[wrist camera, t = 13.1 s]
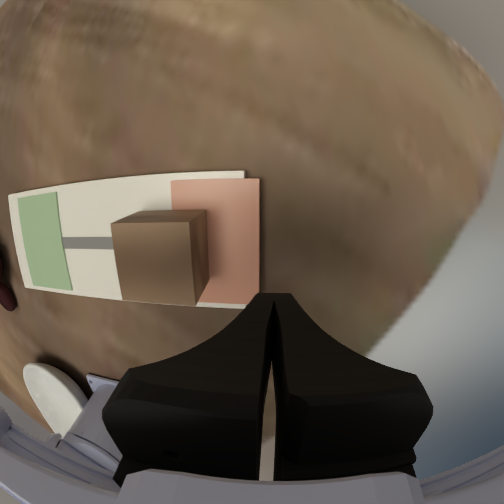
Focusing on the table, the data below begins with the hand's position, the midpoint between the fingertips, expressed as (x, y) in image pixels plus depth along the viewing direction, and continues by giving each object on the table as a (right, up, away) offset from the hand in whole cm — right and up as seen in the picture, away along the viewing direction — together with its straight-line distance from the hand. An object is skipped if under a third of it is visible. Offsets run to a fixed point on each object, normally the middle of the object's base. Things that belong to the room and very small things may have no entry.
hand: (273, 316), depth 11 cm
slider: (-6, +3, +9) cm, 11 cm away
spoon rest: (-24, -21, +20) cm, 38 cm away
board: (-13, +4, +11) cm, 17 cm away
